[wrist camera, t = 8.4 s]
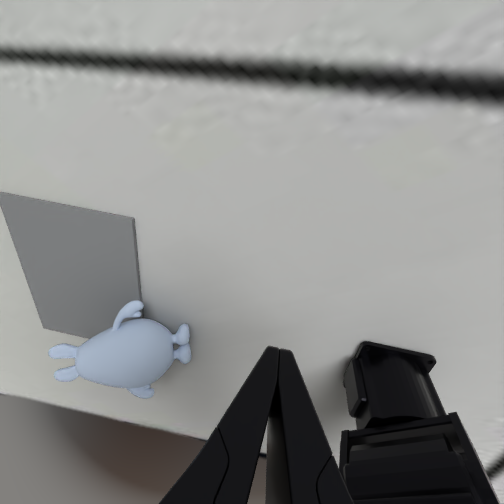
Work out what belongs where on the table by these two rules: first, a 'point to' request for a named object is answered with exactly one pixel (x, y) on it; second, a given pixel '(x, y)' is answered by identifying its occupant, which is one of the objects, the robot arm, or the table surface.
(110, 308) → the mat
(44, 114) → the table surface
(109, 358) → the toy figure
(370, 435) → the robot arm
